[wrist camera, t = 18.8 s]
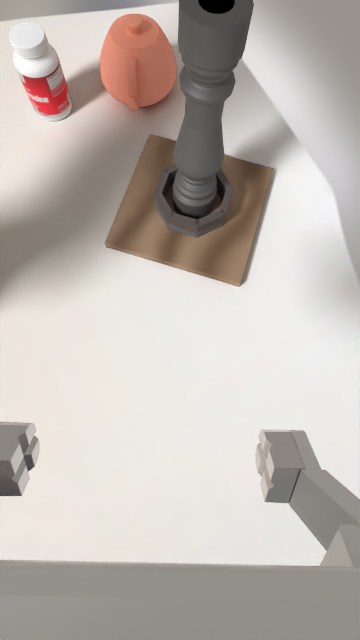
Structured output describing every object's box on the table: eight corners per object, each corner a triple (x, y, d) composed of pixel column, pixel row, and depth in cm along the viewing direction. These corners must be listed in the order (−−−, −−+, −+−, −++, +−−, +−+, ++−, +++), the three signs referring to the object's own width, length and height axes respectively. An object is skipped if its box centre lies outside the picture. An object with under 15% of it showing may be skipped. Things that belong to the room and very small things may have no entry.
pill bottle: (27, 109, 54) (-8, 36, 44) (53, 87, 56) (26, 10, 45) (55, 129, 53) (26, 59, 43) (81, 106, 55) (59, 32, 44)
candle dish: (106, 246, 48) (100, 231, 44) (150, 140, 53) (148, 117, 49) (239, 286, 47) (245, 275, 43) (270, 173, 52) (279, 154, 48)
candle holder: (206, 180, 50) (241, -33, 26) (219, 214, 49) (269, 22, 25) (167, 189, 50) (165, -21, 26) (179, 224, 48) (189, 37, 24)
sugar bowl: (179, 64, 58) (181, -7, 48) (171, 128, 54) (171, 65, 44) (109, 56, 58) (97, -16, 48) (96, 120, 54) (80, 55, 44)
